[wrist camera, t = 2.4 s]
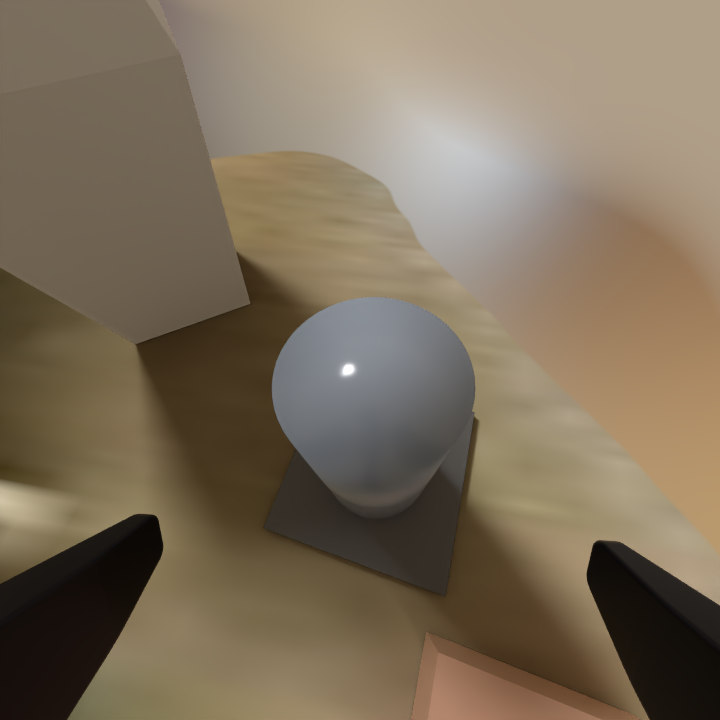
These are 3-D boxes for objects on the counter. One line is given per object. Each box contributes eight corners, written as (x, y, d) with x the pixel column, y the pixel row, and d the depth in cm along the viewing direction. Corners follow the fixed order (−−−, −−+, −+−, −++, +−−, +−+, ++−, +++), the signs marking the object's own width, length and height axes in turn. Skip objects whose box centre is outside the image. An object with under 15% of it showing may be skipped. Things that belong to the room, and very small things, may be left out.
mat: (443, 595, 15) (445, 596, 15) (265, 528, 17) (263, 528, 16) (472, 414, 19) (474, 412, 19) (327, 376, 21) (327, 373, 21)
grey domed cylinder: (413, 535, 16) (456, 512, 7) (313, 500, 17) (235, 440, 8) (434, 434, 18) (487, 318, 9) (345, 409, 19) (315, 282, 10)
